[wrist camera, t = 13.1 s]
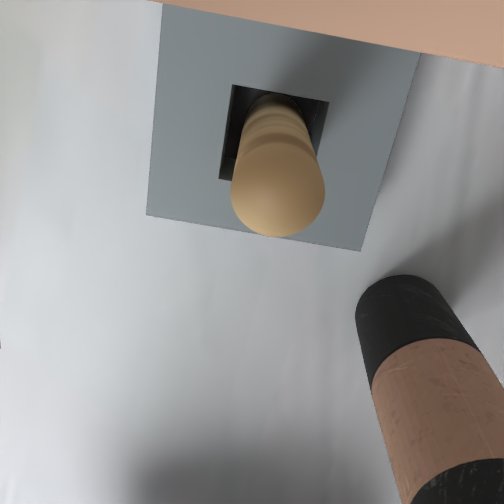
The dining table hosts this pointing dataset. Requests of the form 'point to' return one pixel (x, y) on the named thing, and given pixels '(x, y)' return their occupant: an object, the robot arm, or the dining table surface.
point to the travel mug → (431, 395)
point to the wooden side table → (384, 22)
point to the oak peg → (276, 170)
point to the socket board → (281, 81)
